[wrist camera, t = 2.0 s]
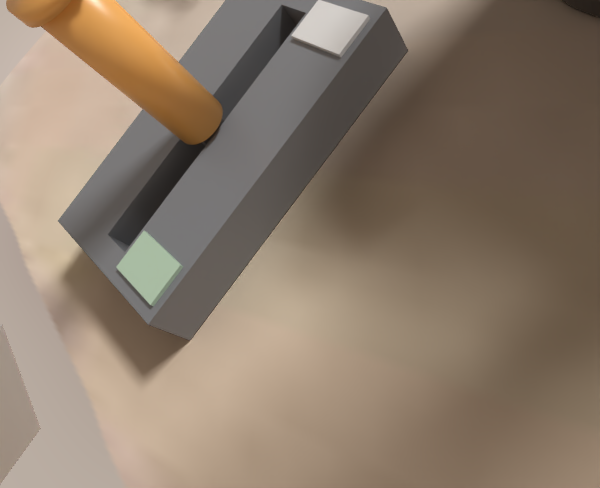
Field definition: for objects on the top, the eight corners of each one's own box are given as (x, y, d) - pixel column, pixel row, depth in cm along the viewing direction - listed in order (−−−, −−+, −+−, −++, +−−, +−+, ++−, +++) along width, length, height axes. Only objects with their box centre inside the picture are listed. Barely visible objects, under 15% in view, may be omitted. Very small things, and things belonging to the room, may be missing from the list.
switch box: (277, 4, 46) (248, -36, 43) (407, 50, 38) (384, 4, 34) (98, 241, 46) (54, 219, 42) (189, 340, 37) (144, 323, 34)
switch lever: (231, 113, 42) (47, -66, 29) (267, 134, 40) (83, -53, 27) (195, 160, 42) (-5, 2, 29) (229, 184, 40) (26, 22, 26)
